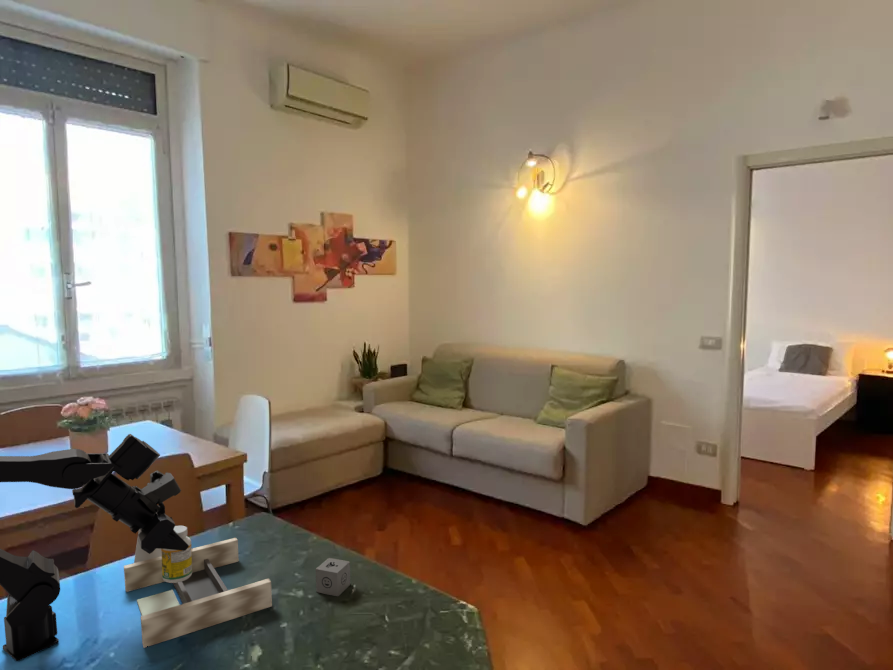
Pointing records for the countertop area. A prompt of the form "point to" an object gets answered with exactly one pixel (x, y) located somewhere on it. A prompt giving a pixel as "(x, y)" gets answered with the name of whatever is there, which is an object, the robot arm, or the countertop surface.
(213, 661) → the countertop surface
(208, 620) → the walled lane
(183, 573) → the supplement bottle
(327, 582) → the dice cube
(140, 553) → the salt shaker
